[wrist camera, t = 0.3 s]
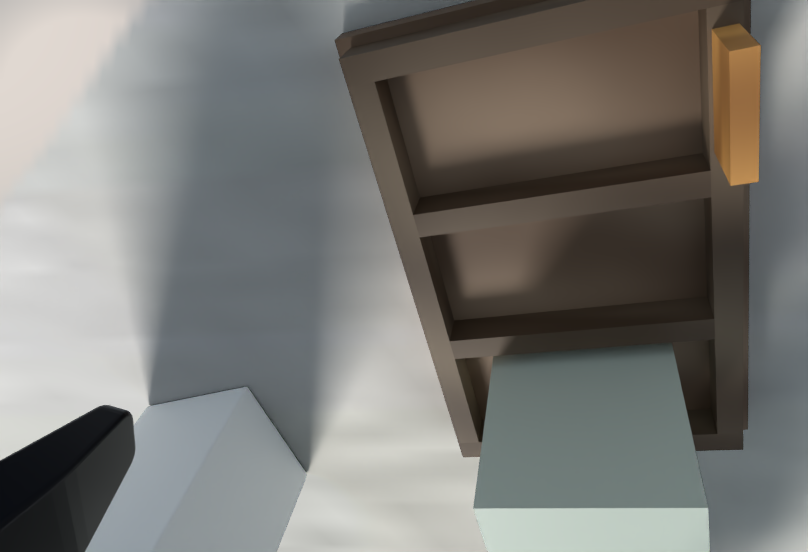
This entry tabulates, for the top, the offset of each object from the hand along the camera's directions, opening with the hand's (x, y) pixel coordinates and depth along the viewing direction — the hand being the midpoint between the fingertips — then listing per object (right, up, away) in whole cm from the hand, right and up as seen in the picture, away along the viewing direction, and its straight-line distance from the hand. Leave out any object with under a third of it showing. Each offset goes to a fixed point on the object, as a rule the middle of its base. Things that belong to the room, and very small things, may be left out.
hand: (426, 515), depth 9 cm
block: (+6, 0, +14) cm, 16 cm away
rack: (+5, +4, +13) cm, 14 cm away
